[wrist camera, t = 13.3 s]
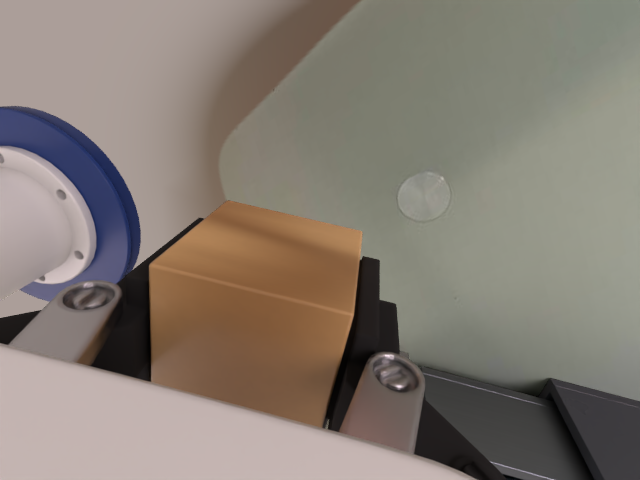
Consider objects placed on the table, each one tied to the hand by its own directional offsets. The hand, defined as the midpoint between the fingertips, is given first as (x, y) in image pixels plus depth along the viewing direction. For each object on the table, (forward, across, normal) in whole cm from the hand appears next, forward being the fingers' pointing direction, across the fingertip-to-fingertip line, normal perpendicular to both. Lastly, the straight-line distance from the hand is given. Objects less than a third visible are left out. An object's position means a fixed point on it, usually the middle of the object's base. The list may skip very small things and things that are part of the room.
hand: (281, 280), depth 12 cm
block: (0, 0, 0) cm, 0 cm away
